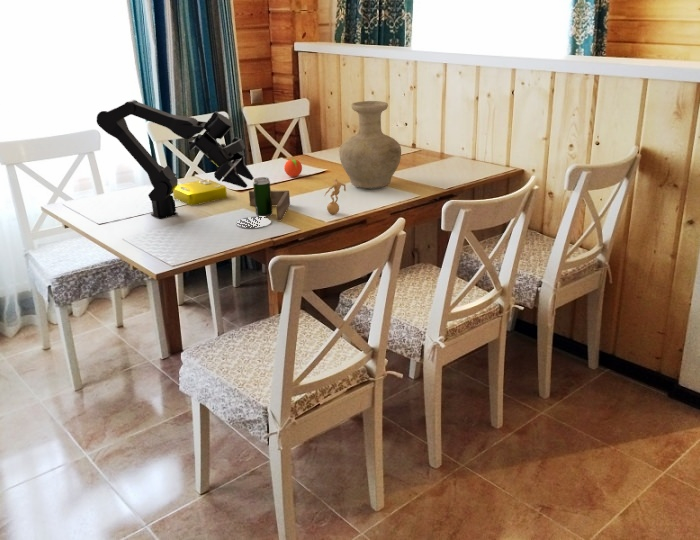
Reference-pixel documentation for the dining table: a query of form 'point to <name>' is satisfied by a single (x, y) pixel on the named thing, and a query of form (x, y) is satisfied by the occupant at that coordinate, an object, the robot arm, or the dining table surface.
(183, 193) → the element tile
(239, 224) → the coaster
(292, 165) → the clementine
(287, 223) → the dining table surface
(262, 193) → the beer can
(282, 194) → the corner niche
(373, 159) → the vase
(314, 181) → the dining table surface
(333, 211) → the figurine
